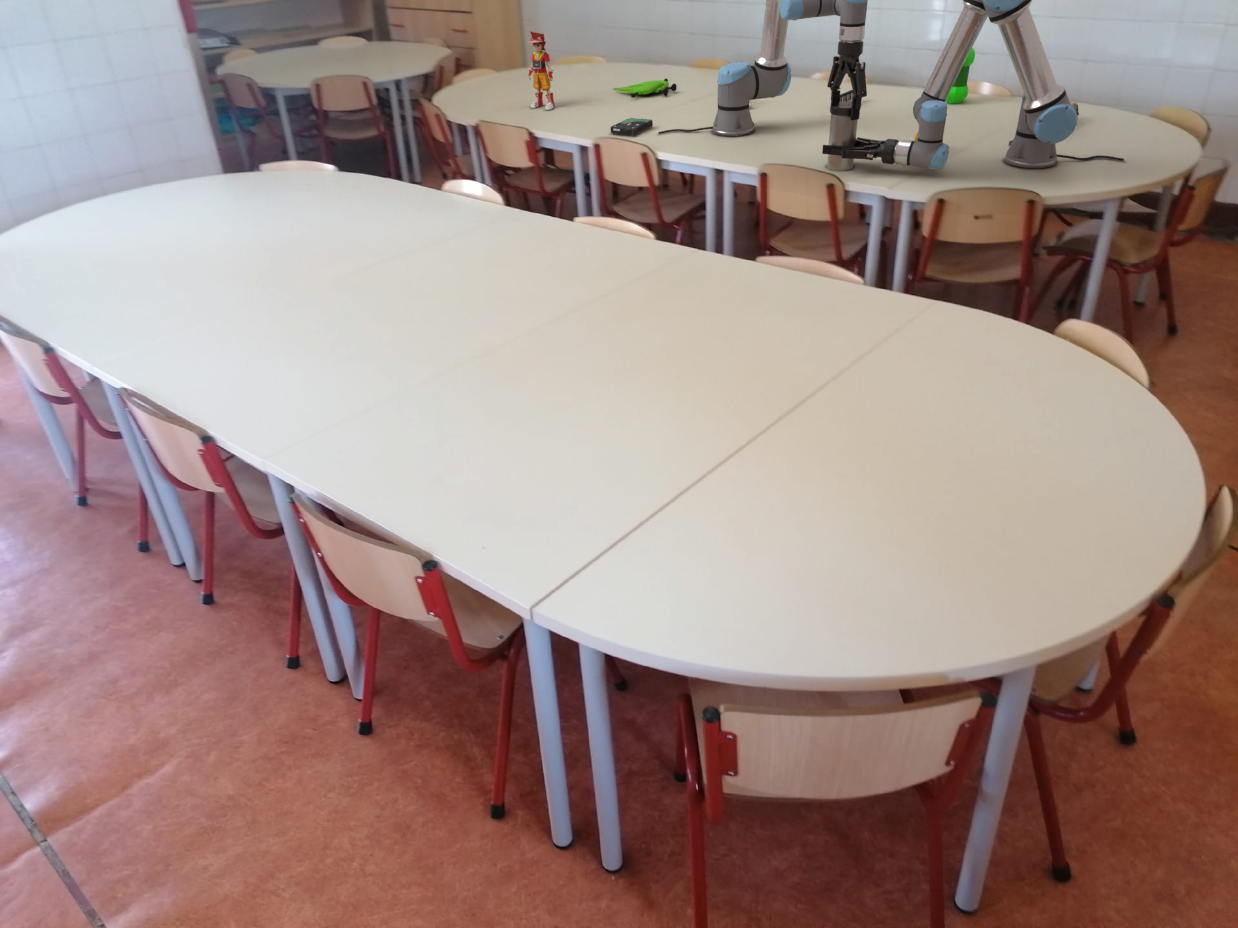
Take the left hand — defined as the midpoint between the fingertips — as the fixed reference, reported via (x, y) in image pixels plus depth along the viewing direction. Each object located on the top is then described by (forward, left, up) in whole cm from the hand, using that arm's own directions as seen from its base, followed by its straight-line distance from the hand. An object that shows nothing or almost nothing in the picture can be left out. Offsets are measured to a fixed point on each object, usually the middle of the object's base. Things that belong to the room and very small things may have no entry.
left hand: (844, 116), depth 286 cm
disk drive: (-88, +16, -16) cm, 91 cm away
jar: (0, 0, -16) cm, 16 cm away
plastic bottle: (+13, +95, -16) cm, 98 cm away
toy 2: (-117, +73, -16) cm, 138 cm away
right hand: (-5, 0, -10) cm, 11 cm away
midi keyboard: (-24, +77, -16) cm, 82 cm away
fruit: (+21, +28, -16) cm, 38 cm away
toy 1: (-144, +36, -16) cm, 149 cm away
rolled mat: (+53, +68, -16) cm, 87 cm away
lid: (0, 0, +3) cm, 3 cm away
